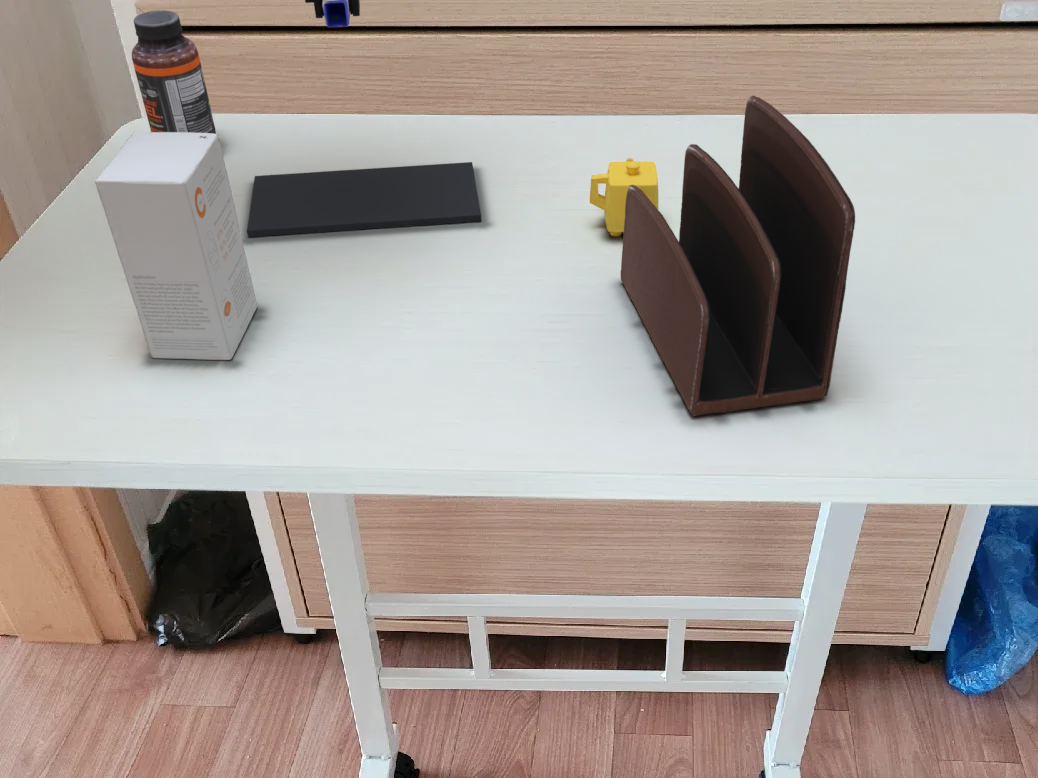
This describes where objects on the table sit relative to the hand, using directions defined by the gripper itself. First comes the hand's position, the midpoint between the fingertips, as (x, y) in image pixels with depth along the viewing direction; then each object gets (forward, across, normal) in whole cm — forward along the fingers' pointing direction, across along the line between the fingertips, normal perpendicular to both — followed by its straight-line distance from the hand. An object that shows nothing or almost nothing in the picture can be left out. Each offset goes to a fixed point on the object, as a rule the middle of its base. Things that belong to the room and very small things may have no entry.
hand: (337, 9), depth 87 cm
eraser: (+1, 0, 0) cm, 1 cm away
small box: (+16, -12, -20) cm, 28 cm away
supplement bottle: (+16, -17, +15) cm, 28 cm away
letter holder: (+16, +26, -26) cm, 40 cm away
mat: (+15, 0, +1) cm, 15 cm away
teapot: (+16, +22, -7) cm, 28 cm away
